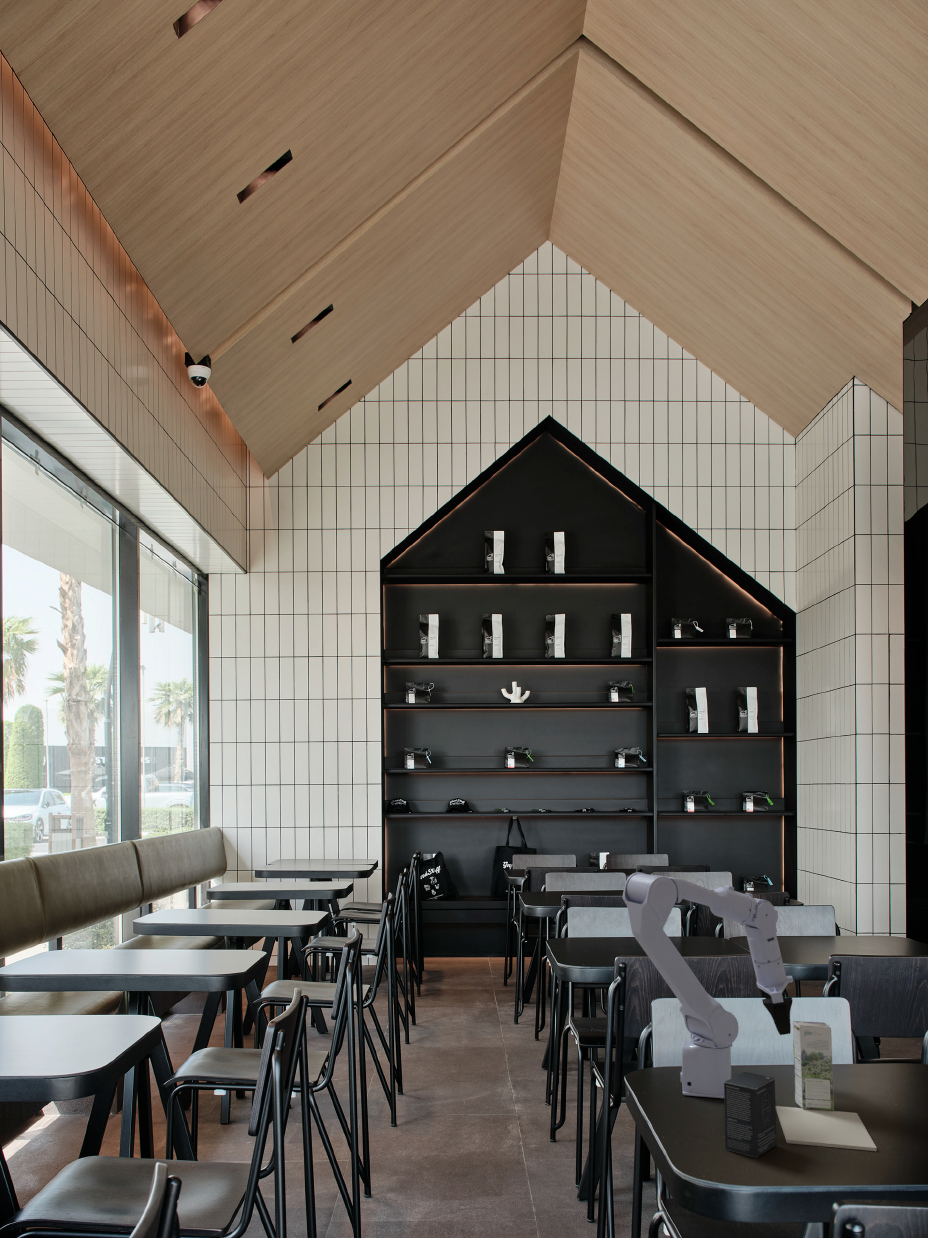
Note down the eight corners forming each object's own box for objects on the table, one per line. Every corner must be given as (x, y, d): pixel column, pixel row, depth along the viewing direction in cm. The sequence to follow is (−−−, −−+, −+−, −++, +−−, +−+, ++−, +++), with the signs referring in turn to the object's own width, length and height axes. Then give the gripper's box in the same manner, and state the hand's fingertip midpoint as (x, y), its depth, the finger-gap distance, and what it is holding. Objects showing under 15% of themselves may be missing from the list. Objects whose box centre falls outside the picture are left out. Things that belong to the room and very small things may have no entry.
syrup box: (826, 1105, 187) (822, 1021, 191) (834, 1112, 181) (831, 1025, 185) (794, 1103, 188) (791, 1019, 191) (802, 1109, 182) (799, 1024, 186)
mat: (786, 1143, 167) (786, 1140, 167) (775, 1109, 184) (775, 1106, 184) (876, 1151, 164) (876, 1148, 164) (856, 1116, 181) (856, 1113, 181)
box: (745, 1138, 169) (744, 1071, 170) (777, 1146, 165) (776, 1078, 167) (723, 1150, 163) (722, 1080, 164) (757, 1159, 159) (755, 1088, 161)
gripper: (791, 967, 194) (808, 1037, 193) (782, 944, 208) (798, 1010, 207) (754, 973, 195) (771, 1043, 194) (748, 949, 209) (763, 1015, 209)
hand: (782, 1026), depth 201 cm, fingers open, 7 cm apart
